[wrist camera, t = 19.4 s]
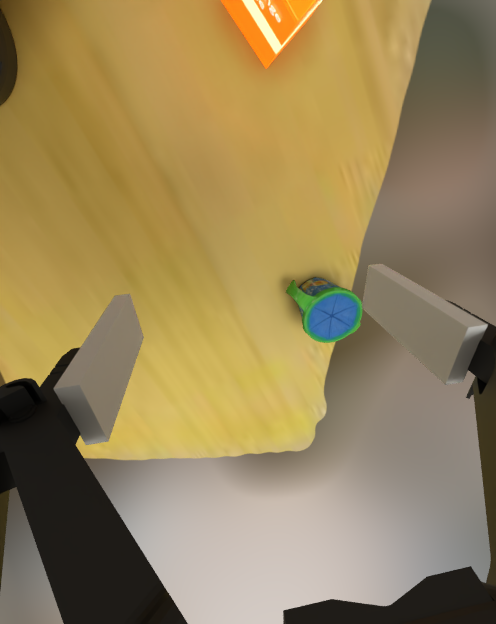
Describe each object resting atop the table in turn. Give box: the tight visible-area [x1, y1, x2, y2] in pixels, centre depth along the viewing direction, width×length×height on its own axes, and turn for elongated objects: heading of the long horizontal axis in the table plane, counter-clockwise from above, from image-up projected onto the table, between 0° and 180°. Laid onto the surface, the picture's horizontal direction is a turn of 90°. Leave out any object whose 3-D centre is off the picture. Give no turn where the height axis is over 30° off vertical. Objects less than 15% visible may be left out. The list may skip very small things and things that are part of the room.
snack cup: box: [286, 277, 362, 343], centre depth 51 cm, size 16×10×10 cm
